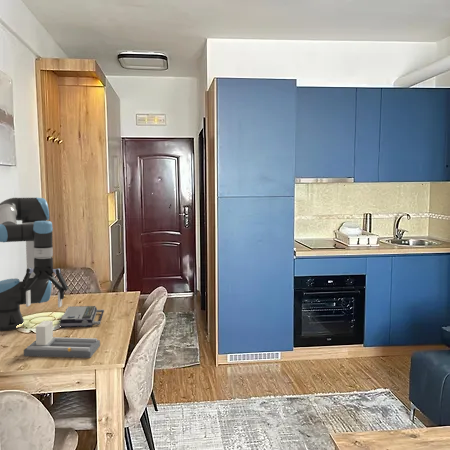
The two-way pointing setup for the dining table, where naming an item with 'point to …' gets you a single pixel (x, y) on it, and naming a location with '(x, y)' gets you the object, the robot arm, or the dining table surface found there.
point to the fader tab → (44, 334)
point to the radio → (80, 317)
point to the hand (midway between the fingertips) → (44, 306)
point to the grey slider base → (65, 348)
